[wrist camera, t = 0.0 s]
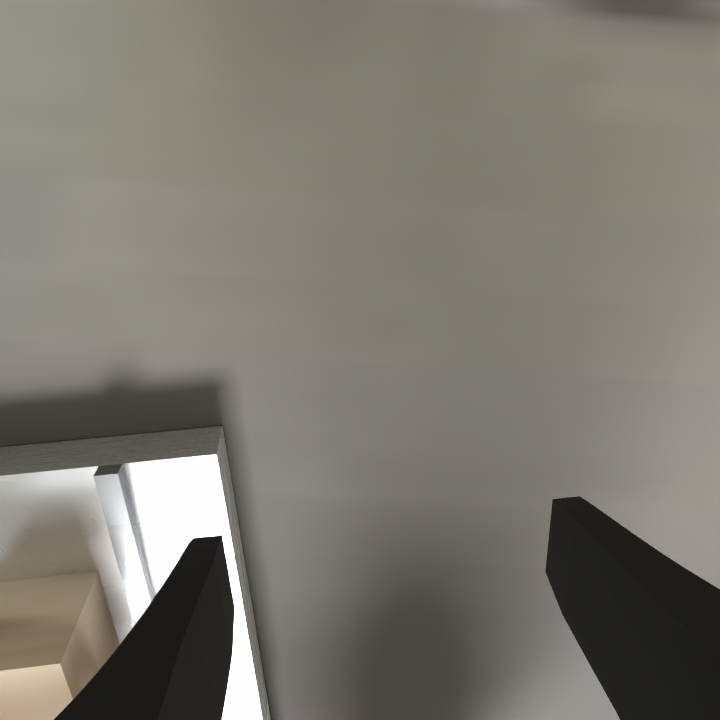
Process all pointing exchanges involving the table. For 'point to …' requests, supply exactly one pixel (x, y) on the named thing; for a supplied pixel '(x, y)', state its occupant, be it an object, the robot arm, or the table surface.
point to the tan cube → (51, 642)
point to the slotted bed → (130, 527)
